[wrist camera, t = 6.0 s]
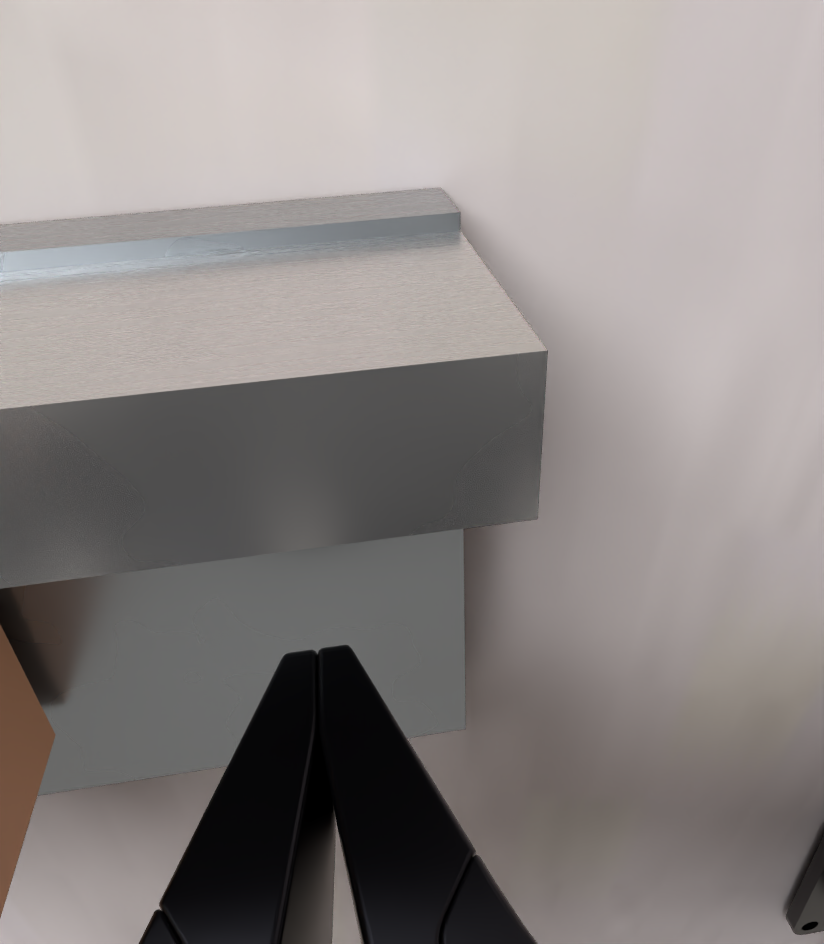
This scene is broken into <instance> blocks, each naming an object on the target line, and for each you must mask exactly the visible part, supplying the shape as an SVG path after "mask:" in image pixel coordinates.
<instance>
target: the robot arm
mask: <svg viewBox="0 0 824 944" xmlns="http://www.w3.org/2000/svg"><path fill="white" fill-rule="evenodd" d="M335 817H336V821H335ZM336 822H337V827H338V832H339V837H340V842H341V847H342V852H343V856H344V861H345V866H346V871H347V876H348V881H349V885H350V890H351V895H352V900H353V905H354V910H355V914H356V919H357V924H358V929H359V934H360V939H361V943H362V944H537V942H536V941H535V940H534V938H533V937H532V936H531V934H530V933H529V931H528V930H527V929H526V927H525V926H524V925H523V923H522V922H521V920H520V919H519V917H518V916H517V914H516V913H515V911H514V910H513V908H512V907H511V905H510V904H509V902H508V900H507V899H506V897H505V896H504V894H503V893H502V891H501V890H500V888H499V887H498V885H497V884H496V882H495V881H494V879H493V877H492V876H491V874H490V872H489V871H488V869H487V868H486V866H485V864H484V863H483V861H482V859H481V858H480V856H478V855H476V851H475V849H474V847H473V845H472V844H471V842H470V840H469V839H468V837H467V836H466V834H465V832H464V831H463V829H462V827H461V826H460V824H459V822H458V821H457V819H456V818H455V816H454V814H453V813H452V811H451V809H450V808H449V806H448V805H447V803H446V801H445V800H444V798H443V796H442V795H441V793H440V791H439V790H438V788H437V787H436V785H435V783H434V782H433V780H432V778H431V777H430V775H429V774H428V772H427V770H426V769H425V767H424V765H423V764H422V762H421V760H420V759H419V757H418V756H417V754H416V752H415V751H414V749H413V747H412V746H411V744H410V743H409V741H408V739H407V738H406V736H405V734H404V733H403V731H402V729H401V728H400V726H399V725H398V723H397V721H396V720H395V718H394V716H393V715H392V713H391V711H390V710H389V708H388V707H387V705H386V703H385V702H384V700H383V698H382V697H381V695H380V694H379V692H378V690H377V689H376V687H375V685H374V684H373V682H372V680H371V679H370V677H369V676H368V674H367V672H366V671H365V669H364V667H363V666H362V664H361V663H360V661H359V659H358V658H357V656H356V654H355V653H354V651H353V650H352V648H351V647H350V646H348V645H339V646H332V647H325V648H321V649H320V650H319V651H318V655H317V652H316V651H314V650H304V651H297V652H290V653H287V654H285V655H284V656H283V657H282V659H281V661H280V663H279V665H278V667H277V669H276V671H275V673H274V675H273V677H272V679H271V681H270V683H269V685H268V687H267V689H266V691H265V693H264V695H263V697H262V699H261V701H260V703H259V705H258V707H257V709H256V711H255V713H254V715H253V717H252V719H251V721H250V723H249V725H248V727H247V729H246V731H245V733H244V735H243V737H242V739H241V741H240V743H239V745H238V747H237V749H236V751H235V753H234V755H233V757H232V759H231V761H230V763H229V765H228V767H227V769H226V771H225V773H224V775H223V777H222V779H221V781H220V783H219V785H218V787H217V789H216V791H215V793H214V795H213V797H212V799H211V801H210V803H209V805H208V807H207V809H206V811H205V813H204V815H203V817H202V819H201V821H200V823H199V825H198V827H197V829H196V831H195V832H194V834H193V836H192V838H191V840H190V842H189V844H188V846H187V848H186V850H185V852H184V854H183V856H182V858H181V860H180V862H179V864H178V866H177V868H176V870H175V872H174V874H173V876H172V878H171V880H170V882H169V884H168V886H167V888H166V890H165V892H164V894H163V896H162V898H161V900H160V903H159V906H160V909H161V910H156V911H155V912H154V914H153V916H152V918H151V920H150V922H149V924H148V926H147V928H146V930H145V932H144V934H143V936H142V938H141V940H140V942H139V944H332V926H333V899H334V871H335V839H336ZM786 919H787V921H788V923H789V925H790V926H791V928H792V930H793V932H794V933H795V934H798V935H804V934H810V933H815V932H821V931H824V836H823V838H822V840H821V842H820V844H819V846H818V848H817V851H816V853H815V855H814V857H813V859H812V861H811V863H810V865H809V868H808V870H807V872H806V874H805V876H804V878H803V880H802V882H801V884H800V887H799V889H798V891H797V893H796V895H795V897H794V899H793V901H792V903H791V906H790V908H789V910H788V912H787V914H786Z"/></svg>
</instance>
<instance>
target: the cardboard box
mask: <svg viewBox="0 0 824 944" xmlns="http://www.w3.org/2000/svg"><path fill="white" fill-rule="evenodd" d="M54 739H55V733H54V731H53V729H52V727H51V725H50V723H49V721H48V719H47V717H46V715H45V713H44V711H43V709H42V707H41V705H40V703H39V701H38V699H37V697H36V695H35V693H34V691H33V689H32V687H31V685H30V683H29V681H28V679H27V677H26V675H25V673H24V671H23V669H22V667H21V665H20V663H19V661H18V659H17V657H16V655H15V653H14V651H13V649H12V647H11V645H10V643H9V641H8V639H7V637H6V635H5V633H4V631H3V629H2V627H1V625H0V917H1V914H2V911H3V907H4V904H5V901H6V897H7V894H8V891H9V887H10V884H11V881H12V878H13V874H14V871H15V868H16V864H17V861H18V858H19V854H20V851H21V848H22V844H23V841H24V838H25V835H26V831H27V828H28V825H29V821H30V818H31V815H32V811H33V808H34V805H35V802H36V798H37V795H38V792H39V788H40V785H41V782H42V778H43V775H44V772H45V768H46V765H47V762H48V759H49V755H50V752H51V749H52V745H53V742H54Z"/></svg>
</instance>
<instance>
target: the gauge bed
mask: <svg viewBox="0 0 824 944" xmlns="http://www.w3.org/2000/svg"><path fill="white" fill-rule="evenodd" d="M547 353H548V350H547V349H546V347H545V346H544V345H543V343H542V342H541V341H540V339H539V338H538V337H537V335H536V334H535V332H534V331H533V330H532V328H531V327H530V326H529V324H528V323H527V321H526V320H525V319H524V317H523V316H522V315H521V313H520V312H519V310H518V309H517V308H516V306H515V305H514V304H513V302H512V301H511V299H510V298H509V297H508V295H507V294H506V293H505V291H504V290H503V288H502V287H501V286H500V284H499V283H498V282H497V280H496V279H495V277H494V276H493V275H492V273H491V272H490V271H489V269H488V268H487V266H486V265H485V264H484V262H483V261H482V260H481V258H480V257H479V255H478V254H477V253H476V251H475V250H474V249H473V247H472V246H471V244H470V243H469V242H468V240H467V239H466V238H465V236H464V235H463V233H462V232H461V231H460V211H459V210H458V209H457V208H456V206H455V205H454V204H453V202H452V201H451V200H450V199H449V197H448V196H447V195H446V194H445V192H444V191H443V190H442V188H432V189H420V190H408V191H396V192H385V193H373V194H361V195H349V196H337V197H325V198H314V199H302V200H290V201H278V202H266V203H254V204H242V205H231V206H219V207H207V208H195V209H183V210H171V211H160V212H148V213H136V214H124V215H112V216H100V217H88V218H77V219H65V220H53V221H41V222H29V223H17V224H6V225H0V625H1V627H2V629H3V631H4V633H5V635H6V637H7V639H8V641H9V643H10V645H11V647H12V649H13V651H14V653H15V655H16V657H17V659H18V661H19V663H20V665H21V667H22V669H23V671H24V673H25V675H26V677H27V679H28V681H29V683H30V685H31V687H32V689H33V691H34V693H35V695H36V697H37V699H38V701H39V703H40V705H41V707H42V709H43V711H44V713H45V715H46V717H47V719H48V721H49V723H50V725H51V727H52V729H53V731H54V733H55V739H54V742H53V745H52V749H51V752H50V755H49V759H48V762H47V765H46V768H45V772H44V775H43V778H42V782H41V785H40V788H39V792H38V795H37V796H39V795H45V794H51V793H58V792H64V791H71V790H77V789H84V788H90V787H96V786H103V785H109V784H116V783H122V782H129V781H135V780H141V779H148V778H154V777H161V776H167V775H174V774H180V773H186V772H193V771H199V770H206V769H212V768H218V767H225V766H228V765H229V763H230V761H231V759H232V757H233V755H234V753H235V751H236V749H237V747H238V745H239V743H240V741H241V739H242V737H243V735H244V733H245V731H246V729H247V727H248V725H249V723H250V721H251V719H252V717H253V715H254V713H255V711H256V709H257V707H258V705H259V703H260V701H261V699H262V697H263V695H264V693H265V691H266V689H267V687H268V685H269V683H270V681H271V679H272V677H273V675H274V673H275V671H276V669H277V667H278V665H279V663H280V661H281V659H282V657H283V656H284V655H285V654H287V653H290V652H297V651H304V650H314V651H316V652H317V655H318V651H319V650H320V649H321V648H325V647H332V646H339V645H348V646H350V647H351V648H352V650H353V651H354V653H355V654H356V656H357V658H358V659H359V661H360V663H361V664H362V666H363V667H364V669H365V671H366V672H367V674H368V676H369V677H370V679H371V680H372V682H373V684H374V685H375V687H376V689H377V690H378V692H379V694H380V695H381V697H382V698H383V700H384V702H385V703H386V705H387V707H388V708H389V710H390V711H391V713H392V715H393V716H394V718H395V720H396V721H397V723H398V725H399V726H400V728H401V729H402V731H403V733H404V734H405V736H406V738H411V737H418V736H424V735H430V734H437V733H443V732H450V731H456V730H463V729H466V715H465V621H464V529H465V528H473V527H481V526H488V525H496V524H504V523H512V522H519V521H527V520H535V519H538V504H539V487H540V470H541V454H542V437H543V420H544V404H545V387H546V370H547Z"/></svg>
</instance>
